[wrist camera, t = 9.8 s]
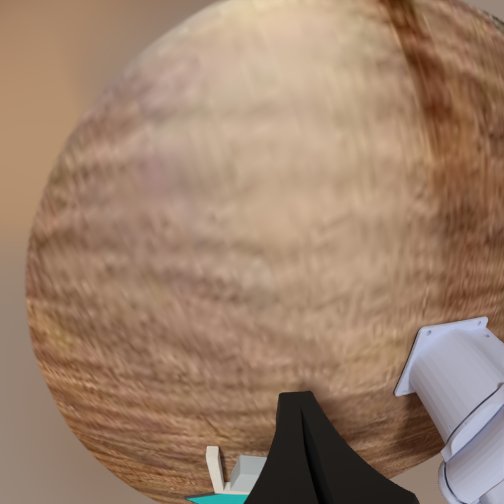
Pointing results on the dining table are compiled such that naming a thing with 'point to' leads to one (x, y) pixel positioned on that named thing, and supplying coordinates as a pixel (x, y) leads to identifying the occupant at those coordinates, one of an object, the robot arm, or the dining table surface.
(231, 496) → the smartphone
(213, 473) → the cream u-shaped bracket
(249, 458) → the light gray box
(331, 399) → the dining table surface
